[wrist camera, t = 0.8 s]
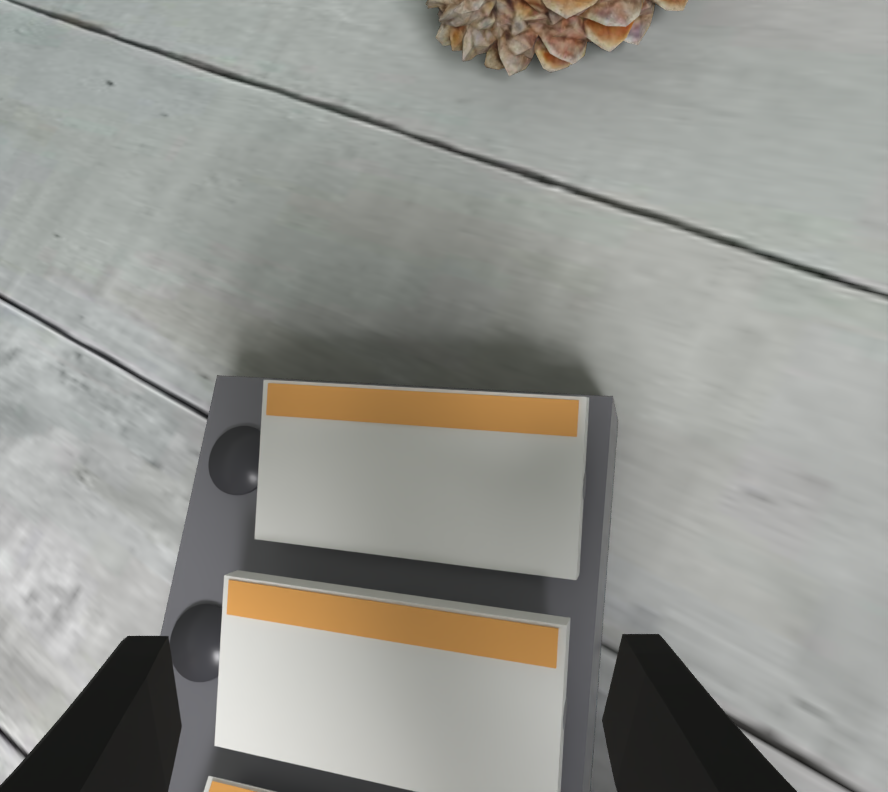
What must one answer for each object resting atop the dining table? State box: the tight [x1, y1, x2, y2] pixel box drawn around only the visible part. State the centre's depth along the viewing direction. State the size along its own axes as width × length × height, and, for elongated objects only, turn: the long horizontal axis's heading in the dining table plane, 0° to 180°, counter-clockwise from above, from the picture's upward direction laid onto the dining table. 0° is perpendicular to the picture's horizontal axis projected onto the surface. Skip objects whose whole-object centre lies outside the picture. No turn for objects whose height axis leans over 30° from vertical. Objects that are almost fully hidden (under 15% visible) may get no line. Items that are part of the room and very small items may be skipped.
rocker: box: [255, 380, 589, 580], centre depth 22 cm, size 5×10×1 cm, turn 82°
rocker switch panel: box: [160, 375, 618, 792], centre depth 24 cm, size 18×14×3 cm
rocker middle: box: [214, 570, 570, 792], centre depth 20 cm, size 5×10×1 cm, turn 83°
